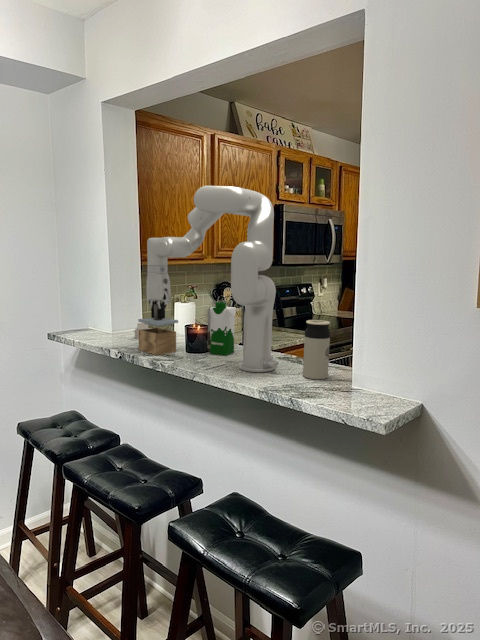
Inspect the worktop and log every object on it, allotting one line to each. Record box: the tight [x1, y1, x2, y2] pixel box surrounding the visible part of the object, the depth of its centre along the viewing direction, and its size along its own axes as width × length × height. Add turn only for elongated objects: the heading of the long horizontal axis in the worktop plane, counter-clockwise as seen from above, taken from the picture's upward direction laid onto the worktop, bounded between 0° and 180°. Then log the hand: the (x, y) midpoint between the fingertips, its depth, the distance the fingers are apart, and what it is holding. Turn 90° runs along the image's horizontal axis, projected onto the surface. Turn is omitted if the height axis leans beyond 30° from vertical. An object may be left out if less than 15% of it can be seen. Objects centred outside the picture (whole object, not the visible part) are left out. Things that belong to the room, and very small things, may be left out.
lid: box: [137, 304, 179, 327], centre depth 182 cm, size 13×10×8 cm
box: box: [138, 327, 177, 356], centre depth 184 cm, size 12×9×8 cm
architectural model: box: [133, 322, 149, 340], centre depth 211 cm, size 3×7×7 cm, turn 134°
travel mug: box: [302, 319, 331, 381], centre depth 151 cm, size 8×8×18 cm
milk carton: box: [209, 301, 237, 357], centre depth 183 cm, size 9×9×20 cm
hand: (158, 317), depth 183 cm, fingers closed on lid, 3 cm apart
